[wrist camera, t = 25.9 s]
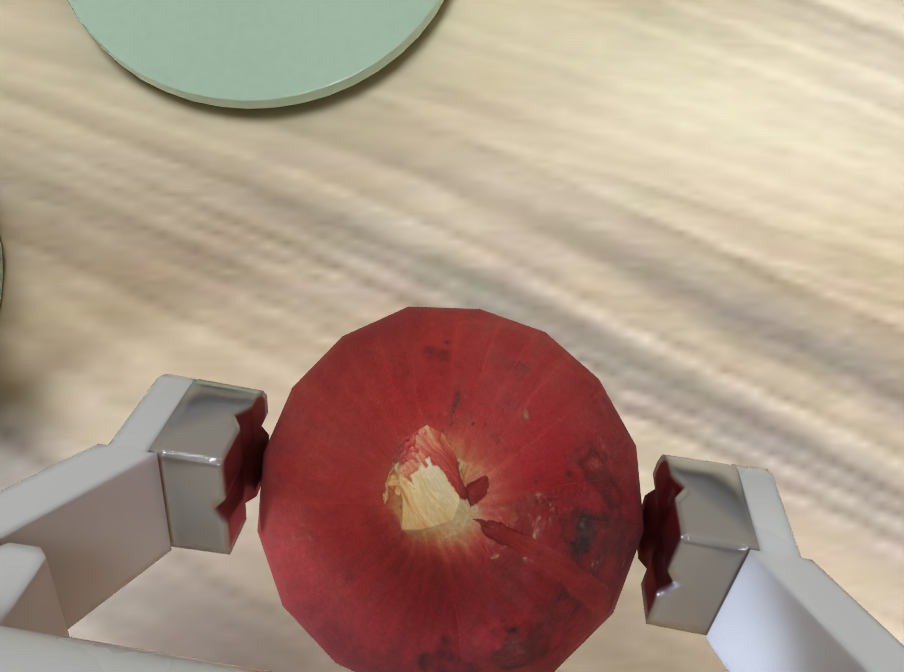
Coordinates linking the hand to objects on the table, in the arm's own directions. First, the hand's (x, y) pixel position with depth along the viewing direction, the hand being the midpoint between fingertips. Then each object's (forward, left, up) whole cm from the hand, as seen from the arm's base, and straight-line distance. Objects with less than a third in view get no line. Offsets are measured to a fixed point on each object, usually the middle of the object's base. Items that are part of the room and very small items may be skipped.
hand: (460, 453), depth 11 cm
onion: (0, 0, -5) cm, 5 cm away
